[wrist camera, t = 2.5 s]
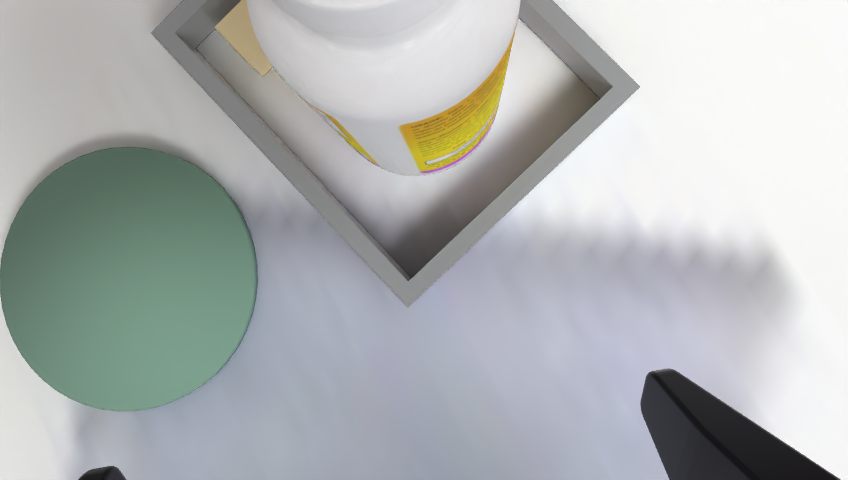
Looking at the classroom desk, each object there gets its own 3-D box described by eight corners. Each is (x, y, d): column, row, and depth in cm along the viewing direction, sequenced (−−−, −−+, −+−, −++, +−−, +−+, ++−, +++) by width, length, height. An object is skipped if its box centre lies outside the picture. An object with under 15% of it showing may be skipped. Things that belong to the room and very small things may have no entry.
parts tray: (626, 99, 21) (640, 86, 19) (411, 303, 21) (407, 307, 20) (373, -151, 22) (366, -183, 20) (172, 48, 22) (150, 32, 21)
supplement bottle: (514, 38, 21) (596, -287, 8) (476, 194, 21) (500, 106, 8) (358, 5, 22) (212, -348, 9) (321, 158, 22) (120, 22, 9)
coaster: (310, 283, 22) (306, 284, 21) (125, 461, 22) (115, 466, 21) (139, 97, 22) (130, 93, 22) (-37, 272, 23) (-51, 272, 22)
